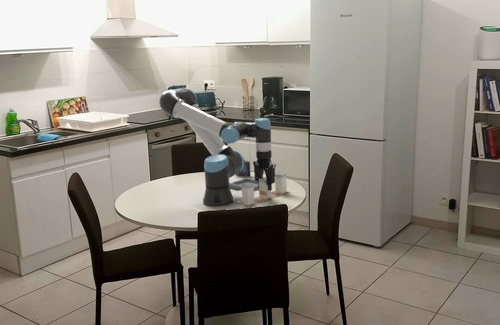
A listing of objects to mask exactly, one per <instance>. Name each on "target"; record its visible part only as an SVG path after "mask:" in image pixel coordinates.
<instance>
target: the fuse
mask: <svg viewBox="0 0 500 325" xmlns="http://www.w3.org/2000/svg"><path fill="white" fill-rule="evenodd" d="M254 198H255V190H254V184H253V183H249V182H247V183H244V184H242V190H241V199H242V200H241V202H243V204H245V205H248V206H249V205H251V204H254ZM245 205H244V206H245ZM248 206H247V207H248Z"/></svg>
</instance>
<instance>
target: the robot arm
mask: <svg viewBox="0 0 500 325" xmlns="http://www.w3.org/2000/svg"><path fill="white" fill-rule="evenodd" d="M197 98H198V97H197V95H196V93H195V92H194V91H193V90H192V89H190V88H188V87H179V88H177V89H169V90H165V91H164V92H162V94H161V95H160V97H159V102H158V103H159V107H160V108H161V110H162V111H163V112H164V113H165V114H167V115H168V116H171V117H173V118H175V119H177V118H179V119H182V120H183V121H185V122H187V124H188V125H189V126H190V128H191V129H192V131H194V133H195V134H196V136H197V138H198V139H200V141H201V143H203V145H204V147H205V148H206V149H207V151H208V152H209V153H210V154H211V155H210V156H208V157H206V158H204V164H203V165H204V166H203V168H204V179H205V180H204V181H205V191H204V195H203V198H202V204H203V205H204V206H207V207H213V208H217V207H218V208H220V207H226V206H229V205H230V206H231V205H232V204H233V203H234V202H235V200H234V196H233V194H232V191H231V188H230V187H229V183H230V178H232V177H234V176H237V174H238V173H239V172H240V171H241V170H242V169H243V166H244V160H245V158H244V156H243V155H242V154H241V153H240V152H239V151H237V150H234V149H233V148H232V147H231V146H230V144H234V143H236V142H238V141H241V140H243V139H245V138H251V139H255V150H256V151H255V155H256V156H255V157H256V160H254V161H252V164H253V173H254V180H255V181H257V182H258V188H259V179H260V178H263V177H264V174H265V177H266V180H267V184H266V197H270V196H271V192H272V190H273V184H275V174H276V166H277V164H276V163H272V159H271V158H272V155H273V154H272V150H271V149H272V126H271V119H270V118H266V117H262V118H261V117H260V118H258V117H257V118H255V119H254V121H253V122H249V121H245V122H244V121H235V122H234V123H233V124H230V123H228V122H226V121H224V120H222V119H219V117H218V118H217V117H215V116H213V115H212V114H209V113H207V112H204V111H202V110H200V109H199V103H198V100H197ZM243 158H244V159H243ZM269 181H270V182H269ZM258 195H259V196H260V194H259V193H258Z"/></svg>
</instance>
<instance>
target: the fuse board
mask: <svg viewBox="0 0 500 325" xmlns="http://www.w3.org/2000/svg"><path fill="white" fill-rule="evenodd" d="M290 193H291V191H287V192H285V193H283V194H280V193H276V190H274V191H271V198H268V199H266V200H265V199H261V198H260V195H259V196H257V197H254V204H251V205H249V206H248V205H245V204H243V201H241V202H239V203H238V205H242V206H245V207H249V208H251V207H254V206H257V205H259V204H260V205H261V204H262V203H265V202H267V201H270V200H273V199H276V198H279V197H281V196H284V195H288V194H290Z"/></svg>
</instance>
